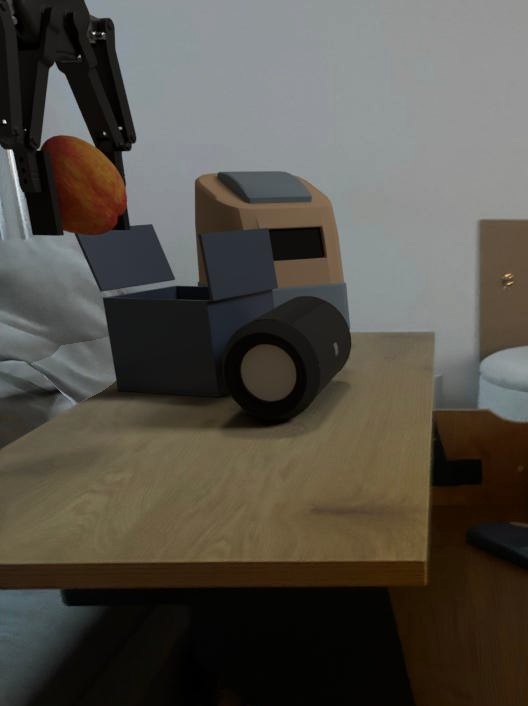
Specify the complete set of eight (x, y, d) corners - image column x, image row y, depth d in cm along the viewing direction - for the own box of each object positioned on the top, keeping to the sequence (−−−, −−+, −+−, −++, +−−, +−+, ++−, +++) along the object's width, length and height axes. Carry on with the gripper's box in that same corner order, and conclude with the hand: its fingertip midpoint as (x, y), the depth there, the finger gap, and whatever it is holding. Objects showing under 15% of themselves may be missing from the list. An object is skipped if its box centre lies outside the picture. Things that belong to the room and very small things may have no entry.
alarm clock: (251, 371, 126) (229, 171, 116) (197, 355, 138) (173, 172, 128) (362, 356, 135) (350, 170, 125) (302, 343, 147) (287, 171, 137)
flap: (102, 290, 111) (100, 291, 111) (175, 279, 122) (173, 280, 123) (75, 229, 109) (72, 230, 109) (152, 224, 120) (149, 225, 121)
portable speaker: (319, 427, 98) (311, 322, 93) (220, 427, 98) (208, 322, 94) (356, 379, 121) (351, 293, 116) (276, 379, 121) (268, 293, 117)
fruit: (54, 232, 92) (37, 136, 88) (141, 232, 92) (128, 137, 89) (21, 237, 85) (2, 133, 81) (116, 238, 85) (101, 134, 82)
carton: (117, 390, 116) (91, 233, 108) (187, 370, 127) (167, 227, 120) (225, 398, 111) (205, 234, 104) (286, 376, 123) (272, 227, 115)
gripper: (-34, -112, 68) (31, 240, 78) (154, -54, 86) (188, 227, 96) (-115, -103, 71) (-42, 238, 81) (85, -48, 88) (125, 226, 98)
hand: (83, 232), depth 88 cm, fingers closed on fruit, 8 cm apart
